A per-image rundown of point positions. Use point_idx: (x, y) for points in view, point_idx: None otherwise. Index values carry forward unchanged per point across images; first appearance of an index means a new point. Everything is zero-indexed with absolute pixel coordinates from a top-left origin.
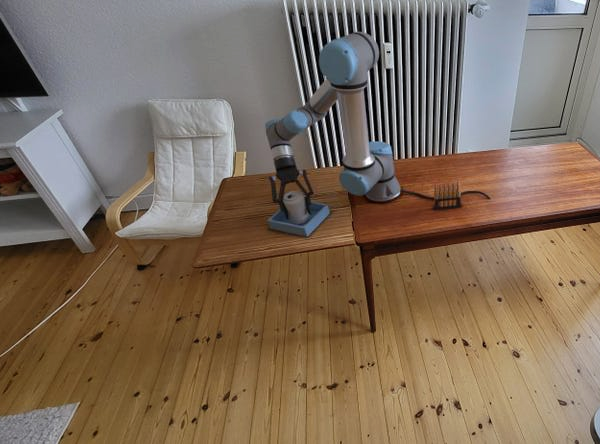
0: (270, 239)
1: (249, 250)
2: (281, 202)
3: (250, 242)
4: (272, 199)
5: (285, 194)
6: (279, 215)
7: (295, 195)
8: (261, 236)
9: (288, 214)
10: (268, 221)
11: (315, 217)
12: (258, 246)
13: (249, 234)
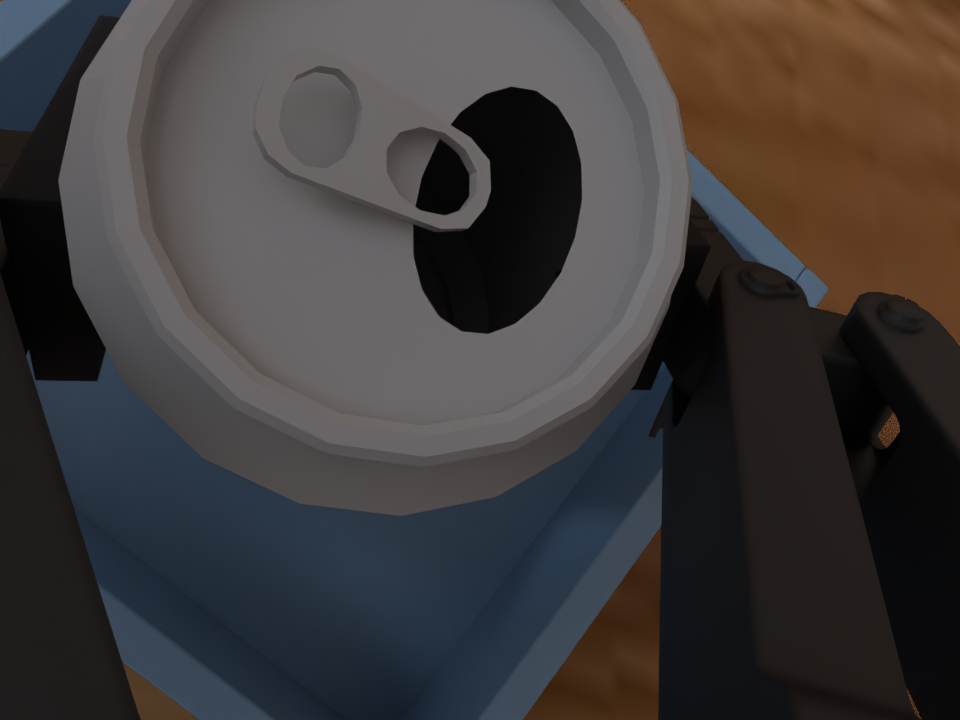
0: (732, 92)
1: (925, 13)
2: (702, 280)
3: (926, 151)
4: (947, 332)
5: (644, 324)
6: (647, 443)
7: (325, 182)
8: (826, 206)
9: (527, 227)
10: (807, 279)
11: None
12: (847, 32)
13: (946, 313)
